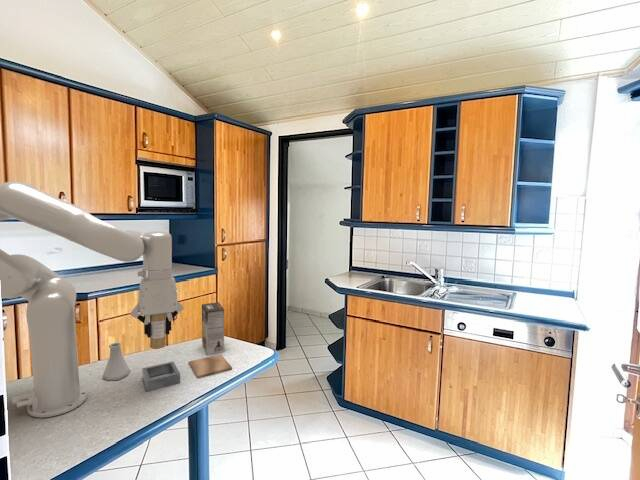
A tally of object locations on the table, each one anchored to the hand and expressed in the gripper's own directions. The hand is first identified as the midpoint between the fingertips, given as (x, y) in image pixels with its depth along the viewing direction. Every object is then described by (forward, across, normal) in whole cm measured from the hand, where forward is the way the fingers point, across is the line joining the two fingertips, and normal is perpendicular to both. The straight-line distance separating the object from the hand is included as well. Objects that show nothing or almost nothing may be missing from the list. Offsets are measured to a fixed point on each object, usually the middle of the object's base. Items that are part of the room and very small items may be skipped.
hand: (158, 333), depth 104 cm
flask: (+15, -10, +10) cm, 21 cm away
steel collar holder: (+15, +1, 0) cm, 15 cm away
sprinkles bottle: (+4, 0, 0) cm, 4 cm away
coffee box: (+15, +21, +14) cm, 29 cm away
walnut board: (+14, +16, +1) cm, 21 cm away
